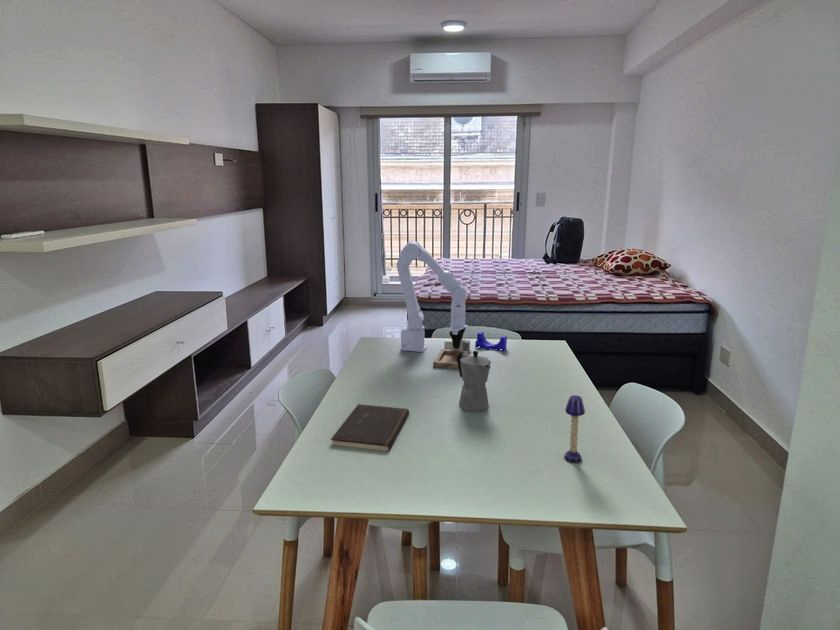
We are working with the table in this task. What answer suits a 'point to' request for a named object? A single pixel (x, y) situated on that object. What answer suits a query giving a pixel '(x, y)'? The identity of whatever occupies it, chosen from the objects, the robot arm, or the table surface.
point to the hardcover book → (371, 427)
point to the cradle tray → (447, 359)
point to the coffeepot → (473, 381)
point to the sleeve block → (463, 347)
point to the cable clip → (485, 344)
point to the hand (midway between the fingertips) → (457, 346)
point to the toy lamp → (574, 426)
